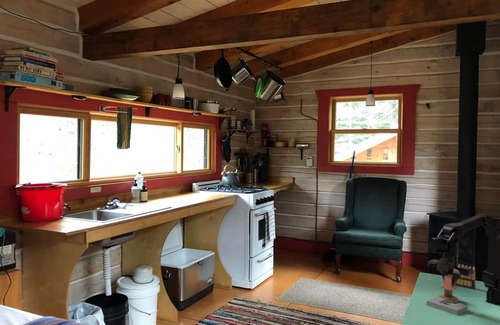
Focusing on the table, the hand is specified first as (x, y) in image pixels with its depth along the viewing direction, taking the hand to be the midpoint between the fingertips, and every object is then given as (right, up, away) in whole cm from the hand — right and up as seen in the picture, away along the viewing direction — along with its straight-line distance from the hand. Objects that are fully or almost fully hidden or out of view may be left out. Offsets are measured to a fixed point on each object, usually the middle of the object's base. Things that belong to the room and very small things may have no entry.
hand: (449, 285), depth 189 cm
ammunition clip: (+22, -10, +30) cm, 39 cm away
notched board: (-2, -10, -1) cm, 10 cm away
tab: (0, -1, 0) cm, 1 cm away
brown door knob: (+4, -10, +10) cm, 14 cm away
